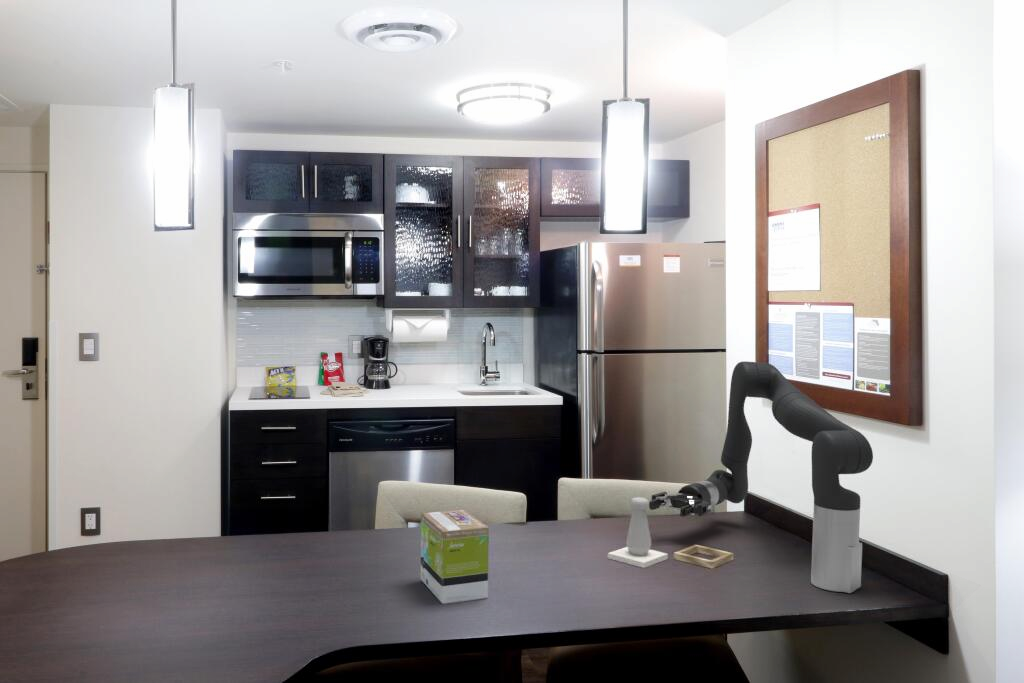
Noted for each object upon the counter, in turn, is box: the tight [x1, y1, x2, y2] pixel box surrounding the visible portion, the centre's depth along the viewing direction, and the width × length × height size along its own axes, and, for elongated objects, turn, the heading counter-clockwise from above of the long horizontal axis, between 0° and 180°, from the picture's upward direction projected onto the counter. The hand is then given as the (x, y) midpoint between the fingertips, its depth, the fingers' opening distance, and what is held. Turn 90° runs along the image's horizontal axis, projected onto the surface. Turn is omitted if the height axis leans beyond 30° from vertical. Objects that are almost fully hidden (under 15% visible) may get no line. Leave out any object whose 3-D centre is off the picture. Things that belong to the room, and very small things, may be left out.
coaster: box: [607, 546, 669, 569], centre depth 191 cm, size 10×10×1 cm
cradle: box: [673, 544, 734, 570], centre depth 191 cm, size 10×10×2 cm
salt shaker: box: [626, 496, 652, 556], centre depth 190 cm, size 6×6×13 cm
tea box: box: [420, 509, 490, 605], centre depth 166 cm, size 15×10×15 cm, turn 23°
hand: (666, 509), depth 198 cm, fingers open, 8 cm apart
